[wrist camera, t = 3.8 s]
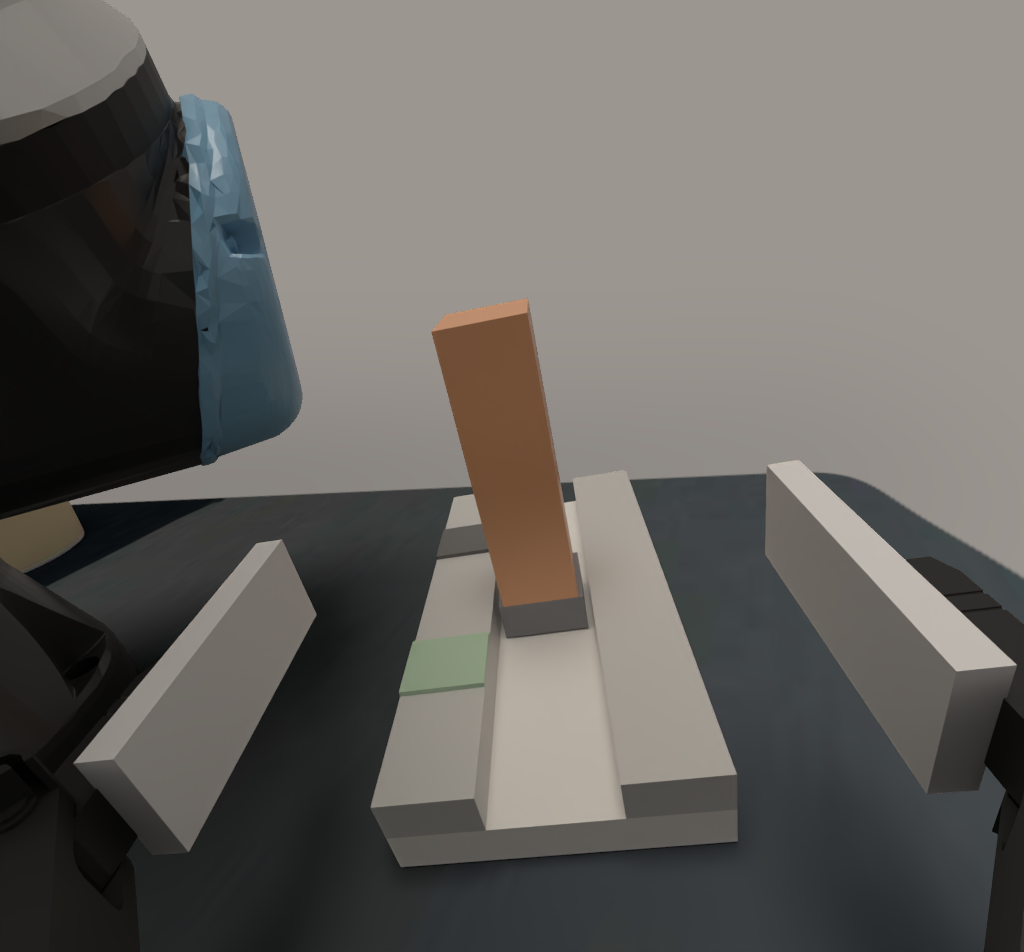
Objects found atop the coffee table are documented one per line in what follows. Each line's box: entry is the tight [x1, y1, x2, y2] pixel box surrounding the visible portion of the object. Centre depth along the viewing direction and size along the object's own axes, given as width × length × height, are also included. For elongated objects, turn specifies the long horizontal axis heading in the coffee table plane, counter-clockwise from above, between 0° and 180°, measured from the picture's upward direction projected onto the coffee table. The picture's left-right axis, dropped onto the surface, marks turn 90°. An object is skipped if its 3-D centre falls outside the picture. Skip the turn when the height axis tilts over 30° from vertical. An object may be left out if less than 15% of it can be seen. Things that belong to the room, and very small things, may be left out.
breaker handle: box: [432, 298, 589, 638], centre depth 20 cm, size 3×3×13 cm
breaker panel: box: [370, 470, 738, 867], centre depth 23 cm, size 18×10×3 cm, turn 178°
